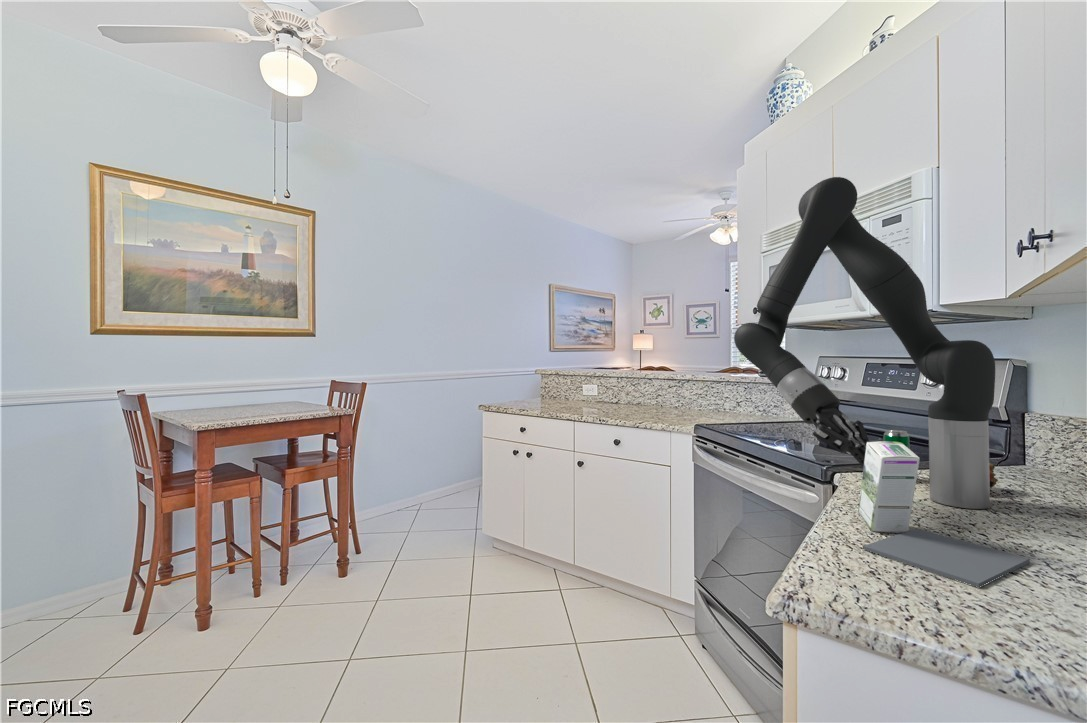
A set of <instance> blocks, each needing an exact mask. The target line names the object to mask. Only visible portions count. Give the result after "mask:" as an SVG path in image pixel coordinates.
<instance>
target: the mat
mask: <svg viewBox="0 0 1087 723" xmlns="http://www.w3.org/2000/svg"><path fill="white" fill-rule="evenodd" d="M863 549H865V550H868V551H871V552H873V553H872V554H874V553H877V554H879V555H878V556H880V555H882V556H881V557H883V556H885V557H884V558H886V557H887V558H886V559H889V558H891V559H890V560H892V559H894V560H893V561H895V560H897V561H896V562H898V561H900V562H899V563H901V562H903V563H902V564H904V563H906V564H905V565H907V564H909V565H908V566H910V565H912V567H913V566H914V567H913V568H916V567H917V569H919V568H921V569H920V570H922V569H924V570H923V571H925V570H927V571H926V572H928V571H929V573H931V572H933V573H932V574H934V573H936V574H935V575H937V574H939V575H938V576H941V575H942V576H941V577H944V576H946V577H945V578H947V577H949V578H948V579H950V578H952V579H951V580H953V579H956V580H958V581H957V582H959V581H961V582H960V583H962V582H965V583H967V584H966V585H968V584H971V585H974V586H977V587H980V586H982V585H984V584H986V583H988V582H990V581H992V580H994V579H996V578H998V577H1000V576H1002V575H1004V576H1006V575H1008V574H1010V573H1012V572H1014V571H1016V570H1018V569H1021V568H1022V567H1024V566H1026V565H1028V564H1030V563H1031V558H1030V557H1027V556H1022V555H1018V554H1015V553H1011V552H1007V551H1003V550H1000V549H996V548H993V547H988V546H986V545H981V544H977V543H974V542H970V541H967V540H962V539H958V538H954V537H951V536H947V535H943V534H940V533H935V532H933V531H929V530H925V529H921V528H917V527H916V528H913V529H910V530H908V531H907V532H904V533H898V534H895V535H892V536H889V537H886V538H883V539H879V540H877V541H874V542H871V543H867V544H865V545H862V550H863ZM865 550H864V551H865ZM868 551H867V552H868ZM871 552H870V553H871ZM877 554H876V555H877ZM1009 572H1010V573H1009ZM1007 573H1008V574H1007ZM1005 574H1006V575H1005ZM1002 577H1003V576H1002ZM1000 578H1001V577H1000ZM998 579H999V578H998ZM956 580H955V581H956ZM996 580H997V579H996ZM994 581H995V580H994ZM992 582H993V581H992ZM965 583H964V584H965ZM990 583H991V582H990ZM988 584H989V583H988ZM971 585H970V586H971ZM986 585H987V584H986ZM974 586H973V587H974ZM984 586H985V585H984ZM977 587H976V588H977ZM982 587H983V586H982ZM980 588H981V587H980Z"/></svg>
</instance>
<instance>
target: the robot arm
mask: <svg viewBox="0 0 1087 723" xmlns="http://www.w3.org/2000/svg"><path fill="white" fill-rule="evenodd" d="M857 201H858V191H857V188H856V186H855V185H854V183H853V182H852V181H851V180H850V179H849V178H846V177H841V176H834V177H833V176H831V177H829V178H826V179H823V180H821V181H819V182H817V183H816V184H815V185H813V186H812V187H810V188H809V189H808V190H806V191H805V192H804V194H802V196H801V197H800V200H799V202H798V207H797V208H798V215H799V217H800V219H801V221H802V222H801V224H800V227H799V229H798V231H797V234H795V235H796V236H795V237H794V239H793V241H792V242H791V245H790V246H789V248H788V249H787V251H786V253H785V254H784V256H783V257H782V258H781V260H780V262H779V263H778V264H777V266H776V267H775V269H774V271H773V272H772V274H771V275H770V277H769V279H768V281H767V283H766V285H765V287H764V289H763V291H762V293H761V295H760V296H759V299H758V301H757V304H756V309H757V311H758V312H759V314H760V316H759V319H758V321H757V322H758V323H756V322H746V323H744V324H741V325H740V326H738V328H736V330H735V333H734V336H733V339H734V345H735V346H736V349H737V350H738V352H739V353H740V354H741V355H742V356H743V357H744V358H745V359H746V360H748V362H750V363H751V364H753V365H754V367H756V368H757V369H759V370H760V371H761V372H762V373H763V374H764V375H765V376H766V378H767V380H769V381H770V382H771V384H772V385H773V386H774V387H775V388H776V389H777V390H778V392H779V393H780V395H781V396H782V398H783V399H784V401H786V403H787V404H788V405H789V406H790V407H791V408H792V409H793V411H794V412H795V414H797V415H798V417H800V418H801V419H802V421H803V422H804V423H805V424H807V425H814V427H815V428H816V429H815V430H814V431H813V432H812V436H814V437H815V438H817V439H818V440H819V441H821V442H823V443H824V444H826V445H828V446H829V447H831V448H832V449H834V450H836V451H838V452H839V453H840V454H841V453H844V452H846V454H848V455H851V456H852V457H853V458H854V459H855V460H856V461H857V462H858V463H859V464H860V466H862V469H863V468H864V460H865V452H866V444H867V442H870V440H869V437H868V434H867V431H866V429H865V426H864V424H863V422H862V421H860V420H856V421H855V422H854V421H852V420H850V419H849V416H847V415H846V414H845V413H843V412H842V411H841V410H840V409H839V408H840V405H841V400H840V398H838V397H837V395H835V393H834V392H833V391H832V390H831V389H830V388H829V387H828V386H827V385H826V384H825V383H824V382H822V380H821V379H820V378H819V377H818V376H817V375H816V374H815V373H813V371H811V370H809V368H808V367H806V366H805V364H804V363H803V362H801V361H800V360H799V358H798V357H796V356H795V355H794V354H793V353H792V352H790V351H788V350H786V349H784V348H783V347H782V346H781V345H782V343H783V340H784V336H785V333H786V329H787V326H788V321H789V316H790V314H791V313H792V310H793V309H794V307H795V305H796V303H797V301H798V300H799V298H800V295H801V294H802V292H803V289H804V287H805V285H806V284H807V282H808V279H809V278H810V276H811V274H812V272H813V271H814V268H816V267H815V266H816V265H817V263H818V261H819V260H820V258H821V256H822V255H823V253H824V251H825V250H826V248H829V250H830V251H831V252H832V253H833V254H834V256H835V257H836V258H837V260H838V261H839V263H840V264H841V266H842V267H843V268H844V270H845V271H846V273H847V274H848V275H849V276H850V278H851V279H852V280H853V282H854V283H855V284H856V286H857V287H858V289H859V290H860V291H861V293H862V294H863V295H864V296H865V297H866V299H867V300H868V302H869V303H870V304H871V305H872V306H873V307H874V309H876V311H877V312H878V313H879V314H880V315H881V317H882V318H883V320H884V321H885V322H886V324H887V325H888V327H889V328H890V329H891V331H893V332H894V334H895V335H896V337H897V338H898V339H899V340H900V342H901V343H902V345H903V347H904V348H905V350H906V351H907V354H908V355H909V356H910V358H911V360H912V361H913V364H914V365H915V366H916V369H918V371H919V372H920V373H921V375H922V376H923V377H924V378H925V379H926V380H928V381H930V382H932V383H935V384H938V385H943V394H942V396H941V398H939V399H938V400H937V401H934V402H931V403H930V404H929V405H928V409H927V410H928V411H927V414H928V416H927V418H928V419H927V420H928V471H929V472H928V473H929V474H928V476H929V478H928V479H929V480H928V482H929V500H931V501H933V502H935V503H938V504H941V505H945V506H950V507H955V508H962V509H972V510H982V509H983V510H984V509H985V510H986V509H990V507H991V497H990V496H991V493H990V491H991V490H990V489H991V487H990V476H989V463H990V433H989V429H990V428H989V415H990V411H991V409H992V407H993V405H994V402H995V391H996V390H995V386H996V385H995V384H996V361H995V360H996V359H995V357H994V353H993V352H992V351H991V348H989V347H988V346H987V345H986V344H985V343H983V342H981V341H978V340H973V339H971V340H968V339H964V340H963V339H962V340H950V339H949V338H947V337H945V336H944V335H943V333H942V332H941V331H940V330H939V328H937V326H936V325H935V324H934V322H933V320H932V319H931V317H930V315H929V311H928V305H927V298H926V297H927V296H926V291H925V287H924V284H923V282H922V281H921V279H920V277H919V276H918V274H916V272H915V271H914V270H913V268H911V266H910V265H909V264H908V262H907V261H906V260H905V259H904V258H903V257H902V256H901V255H899V254H898V253H897V252H896V251H895V250H894V249H892V247H890V246H888V245H887V244H885V242H882V241H881V240H880V239H877V237H875V236H874V235H872V234H871V233H870V232H869V231H867V230H866V228H865V227H863V225H862V224H861V223H860V222H859V220H858V219H857V217H856V216H855V214H854V212H853V211H854V209H855V207H856V204H857Z"/></svg>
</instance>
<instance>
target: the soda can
mask: <svg viewBox="0 0 1087 723" xmlns="http://www.w3.org/2000/svg"><path fill="white" fill-rule="evenodd" d="M884 431H885V432H884V433H883V441H891V442H901V443H903V444H904V445H905V446H906V447H907V448H908V449H910V448H911V447H910V435H909V434H908V431H906V430H901V429H900V430H899V429H885V430H884ZM910 450H911V449H910Z"/></svg>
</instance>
